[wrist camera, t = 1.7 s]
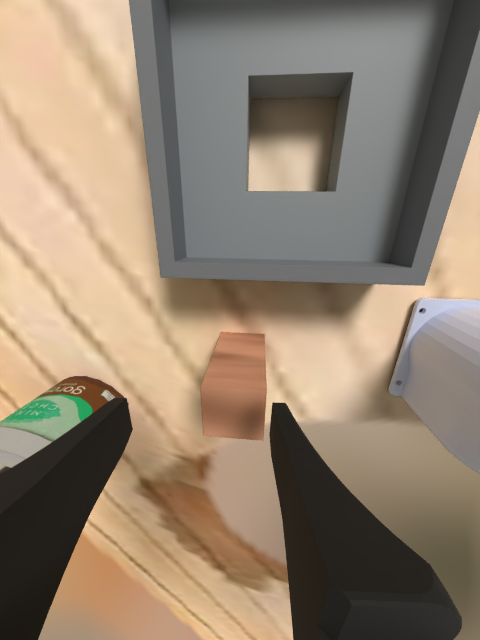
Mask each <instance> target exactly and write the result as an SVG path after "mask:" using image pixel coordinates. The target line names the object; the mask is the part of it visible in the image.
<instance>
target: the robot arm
mask: <svg viewBox="0 0 480 640" xmlns="http://www.w3.org/2000/svg"><path fill="white" fill-rule="evenodd" d="M421 308H423V310H422V311H421V312H419V310H420V309H421ZM397 381H399V382H397ZM396 382H397V383H396ZM388 391H389V393H390V394H391V395H393V396H401V397H402V398H403V399H404V400H405V401H406V403H407V404H408V405H409V406H410V407H411V408H412V410H413V411H414V412H415V413H416V414H417V416H418V417H419V418H420V419H421V420H422V422H423V423H424V424H425V425H426V426H427V428H428V429H429V430H430V431H431V432H432V433H433V435H434V436H435V437H436V438H437V439H438V440H439V442H440V443H441V444H442V445H443V446H444V447H445V448H446V449H447V450H448V452H450V453H451V454H452V455H453V456H454V457H455V458H457V459H458V460H459V461H461V462H462V463H463V464H465V465H466V466H468V467H469V468H471V469H472V470H474V471H476V472H477V473H479V474H480V300H470V299H441V298H420V299H418V300H417V301H416V303H415V305H414V308H413V312H412V315H411V318H410V321H409V324H408V328H407V331H406V334H405V337H404V341H403V344H402V347H401V350H400V353H399V357H398V360H397V363H396V366H395V370H394V373H393V376H392V379H391V383H390V386H389V389H388ZM132 430H133V428H132V423H131V418H130V413H129V408H128V403H127V399H126V398H113V399H112V400H110V401H109V402H107V403H106V404H104V405H103V406H102V407H100V408H99V409H98V410H96V411H95V412H94V413H92V414H91V415H90V416H88V417H87V418H86V419H84V420H83V421H81V422H80V423H79V424H77V425H76V426H75V427H73V428H72V429H70V430H69V431H68V432H66V433H65V434H63V435H62V436H60V437H59V438H57V439H56V440H54V441H53V442H51V443H50V444H48V445H47V446H46V447H44V448H43V449H41V450H39V451H38V452H36V453H35V454H33V455H32V456H30V457H28V458H27V459H25V460H23V461H22V462H20V463H18V464H17V465H15V466H13V467H12V468H10V469H8V470H6V471H5V472H3V473H1V474H0V640H38V638H39V635H40V633H41V630H42V627H43V625H44V622H45V619H46V617H47V614H48V612H49V609H50V606H51V604H52V602H53V599H54V597H55V594H56V592H57V589H58V587H59V584H60V582H61V579H62V577H63V574H64V572H65V569H66V567H67V565H68V562H69V560H70V558H71V555H72V553H73V551H74V548H75V546H76V544H77V541H78V539H79V537H80V534H81V532H82V530H83V528H84V526H85V524H86V521H87V519H88V517H89V515H90V513H91V511H92V509H93V507H94V505H95V503H96V501H97V499H98V497H99V496H100V494H101V492H102V490H103V488H104V487H105V485H106V483H107V481H108V479H109V478H110V476H111V474H112V472H113V470H114V469H115V467H116V465H117V463H118V461H119V459H120V457H121V456H122V454H123V452H124V450H125V447H126V445H127V443H128V440H129V438H130V435H131V432H132ZM270 444H271V445H270V446H271V457H272V462H273V467H274V473H275V479H276V485H277V490H278V496H279V501H280V507H281V513H282V519H283V529H284V538H285V547H286V559H287V569H288V580H289V591H290V603H291V614H292V626H293V639H294V640H453V639H454V638H455V637H456V636H457V635H458V633H459V632H460V630H461V627H462V618H461V616H460V614H459V612H458V610H457V608H456V607H455V605H454V603H453V601H452V599H451V598H450V596H449V594H448V592H447V591H446V589H445V587H444V586H443V584H442V583H441V581H440V580H439V578H438V577H437V575H436V573H435V572H434V570H433V569H432V567H431V565H430V564H428V563H427V562H426V561H425V560H424V559H423V558H421V557H420V556H419V555H418V554H416V553H415V552H414V551H413V550H412V549H411V548H409V547H408V546H407V545H406V544H405V543H404V542H402V541H401V540H400V539H399V538H398V537H396V536H395V535H394V534H393V533H392V532H391V531H390V530H389V529H388V528H387V527H385V526H384V525H383V524H382V523H381V522H380V521H379V520H378V519H377V518H376V517H375V516H374V515H373V514H372V513H371V512H370V511H369V510H368V509H367V508H366V507H365V506H364V505H363V504H362V503H361V502H360V501H359V500H358V499H357V498H356V497H355V496H354V495H353V494H352V493H351V492H350V491H349V490H348V489H347V488H346V487H345V486H344V484H342V482H341V481H340V480H339V479H338V478H337V476H336V475H335V474H334V473H333V472H332V471H331V469H330V468H329V467H328V466H327V464H326V463H325V462H324V461H323V459H322V458H321V457H320V455H319V454H318V453H317V451H316V450H315V449H314V448H313V446H312V445H311V443H310V442H309V440H308V439H307V437H306V436H305V434H304V433H303V431H302V430H301V428H300V427H299V425H298V423H297V422H296V420H295V419H294V417H293V415H292V413H291V412H290V410H289V408H288V406H287V405H286V403H273V404H272V414H271V425H270Z"/></svg>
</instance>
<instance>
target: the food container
mask: <svg viewBox="0 0 480 640" xmlns="http://www.w3.org/2000/svg"><path fill="white" fill-rule="evenodd" d="M113 398H124V397H123V396H122V395H121V394H120V393H119V392H118V391H117V390H115V389H114V388H113V387H112V386H110V385H108V384H106V383H104V382H102V381H101V380H98V379H94V378H90V377H87V376H74V377H69V378H67V379H64V380H63V381H61V382H60V383H58V384H57V385H55V386H54V387H52V388H51V389H49V390H48V391H46V392H45V393H43V394H42V395H40V396H39V397H37V398H36V399H34V400H33V401H31V402H30V403H28V404H27V405H25V406H23V407H22V408H20V409H19V410H17V411H16V412H14V413H13V414H11V415H10V416H8V417H7V418H5V419H4V420H2V421H1V422H0V474H1V473H3V472H5V471H6V470H8V469H10V468H12V467H13V466H15V465H17V464H18V463H20V462H22V461H23V460H25V459H27V458H28V457H30V456H32V455H33V454H35V453H36V452H38V451H39V450H41V449H43V448H44V447H46V446H47V445H48V444H50V443H51V442H53V441H54V440H56V439H57V438H59V437H60V436H62V435H63V434H65V433H66V432H68V431H69V430H70V429H72V428H73V427H75V426H76V425H77V424H79V423H80V422H81V421H83V420H84V419H86V418H87V417H88V416H90V415H91V414H92V413H94V412H95V411H96V410H98V409H99V408H100V407H102V406H103V405H104V404H106V403H107V402H109V401H110V400H112V399H113ZM127 403H128V402H127Z"/></svg>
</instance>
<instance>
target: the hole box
mask: <svg viewBox="0 0 480 640" xmlns="http://www.w3.org/2000/svg"><path fill="white" fill-rule="evenodd" d="M129 5H130V14H131V22H132V31H133V40H134V48H135V57H136V66H137V75H138V83H139V92H140V101H141V109H142V118H143V127H144V135H145V144H146V153H147V162H148V170H149V179H150V188H151V196H152V205H153V214H154V222H155V231H156V240H157V249H158V257H159V266H160V275H161V278H192V279H225V280H258V281H290V282H323V283H356V284H389V285H422V286H424V285H425V282H426V279H427V276H428V272H429V269H430V266H431V263H432V260H433V257H434V253H435V250H436V247H437V244H438V241H439V238H440V234H441V231H442V228H443V225H444V222H445V219H446V216H447V212H448V209H449V206H450V203H451V200H452V197H453V193H454V190H455V187H456V184H457V181H458V178H459V174H460V171H461V168H462V165H463V162H464V159H465V155H466V152H467V149H468V146H469V143H470V140H471V136H472V133H473V130H474V127H475V124H476V121H477V117H478V114H479V111H480V0H129ZM322 97H339V98H338V106H337V113H336V121H335V128H334V135H333V143H332V150H331V158H330V165H329V173H328V180H327V188H326V192H314V191H248V176H249V133H250V99H283V98H322Z"/></svg>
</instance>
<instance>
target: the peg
mask: <svg viewBox="0 0 480 640" xmlns="http://www.w3.org/2000/svg"><path fill="white" fill-rule="evenodd" d="M266 393H267V388H266V362H265V336H264V334H251V333H230V332H221V334H220V337H219V339H218V342H217V345H216V347H215V350H214V353H213V355H212V358H211V361H210V363H209V366H208V369H207V371H206V374H205V376H204V379H203V382H202V384H201V403H202V419H203V435H204V436H213V437H225V438H238V439H250V440H263V437H264V422H265V408H266Z"/></svg>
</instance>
